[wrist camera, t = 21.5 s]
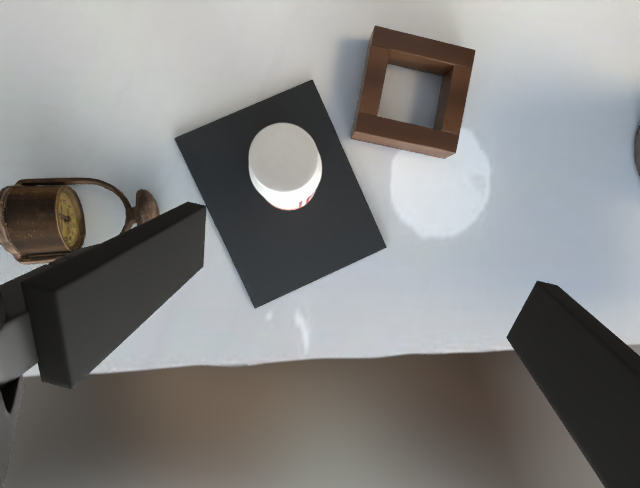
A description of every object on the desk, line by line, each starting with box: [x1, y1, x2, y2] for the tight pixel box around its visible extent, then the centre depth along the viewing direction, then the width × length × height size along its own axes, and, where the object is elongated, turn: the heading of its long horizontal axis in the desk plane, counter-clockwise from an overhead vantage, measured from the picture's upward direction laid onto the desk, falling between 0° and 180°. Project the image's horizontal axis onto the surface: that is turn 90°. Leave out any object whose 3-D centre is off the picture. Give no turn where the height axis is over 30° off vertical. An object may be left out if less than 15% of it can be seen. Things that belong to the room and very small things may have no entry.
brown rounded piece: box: [0, 178, 159, 265], centre depth 29 cm, size 7×13×10 cm
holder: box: [351, 26, 475, 159], centre depth 34 cm, size 11×11×2 cm
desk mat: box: [175, 80, 386, 308], centre depth 34 cm, size 20×16×1 cm
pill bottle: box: [248, 123, 322, 210], centre depth 28 cm, size 6×6×11 cm
